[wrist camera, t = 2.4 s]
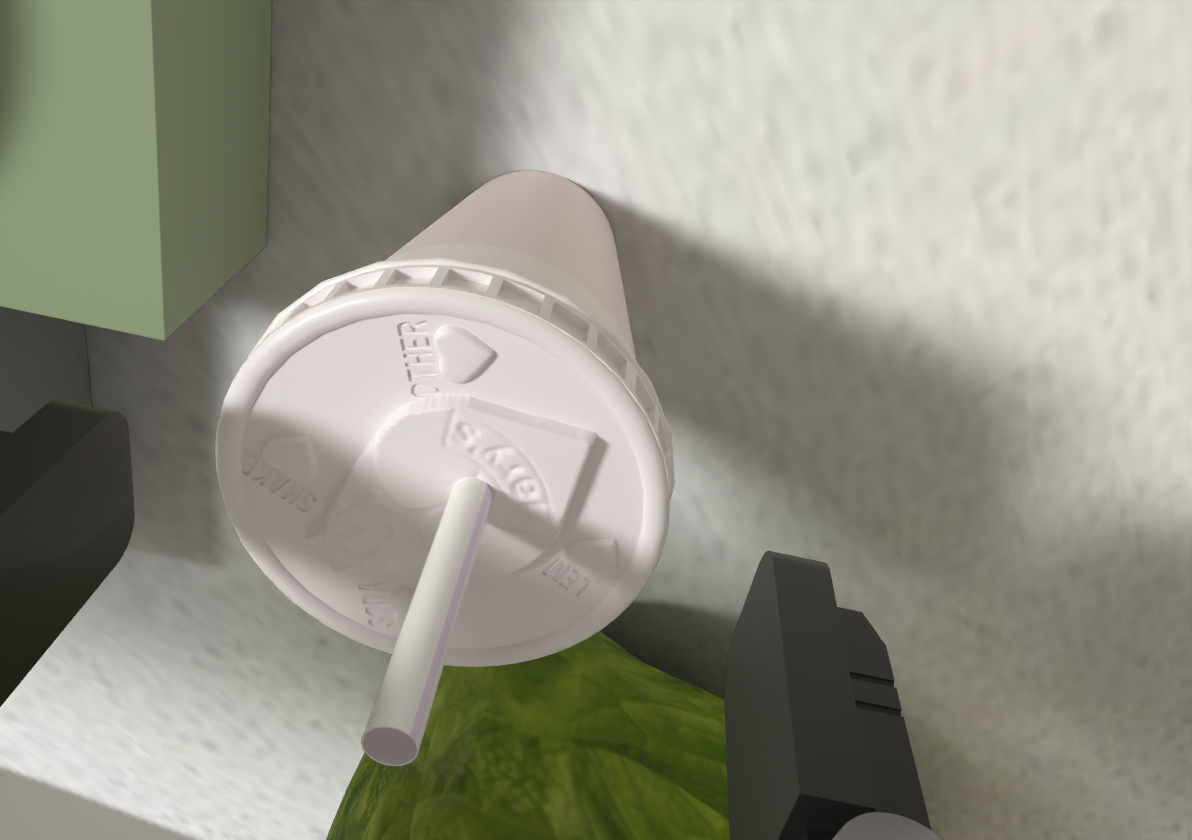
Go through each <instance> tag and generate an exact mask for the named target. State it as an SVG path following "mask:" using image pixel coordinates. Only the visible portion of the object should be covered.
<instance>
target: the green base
mask: <svg viewBox="0 0 1192 840" xmlns="http://www.w3.org/2000/svg"><path fill="white" fill-rule="evenodd" d="M271 14H272V0H0V430H1V431H6V432H11V433H13V432H14V431H15V430H16V429H17V428H19V427H20V426H21V425H22V424H23V423H25V422H26V421H27V420H28V419H29V418H30V417H32V416H33V415H34V414H35V413H36V412H38V411H39V410H40V409H41V408H42V407H43V406H45V405H46V404H48V403H49V402H51V401H54V400H61V401H66V402H71V403H76V404H80V405H85V406H90V407H92V403H91V392H90V380H89V369H88V357H87V346H86V335H85V324H88V325H92V326H97V327H102V328H106V329H111V330H116V331H121V332H125V333H130V334H135V335H140V336H144V337H149V338H154V339H159V340H163V341H165V340H166V339H167V338H168V337H169V336H170V335H171V334H172V333H173V332H174V331H175V330H177V329H178V328H179V327H180V326H181V325H182V324H183V323H184V322H185V321H186V320H187V319H188V318H189V317H191V316H192V315H193V314H194V313H195V312H196V311H197V310H198V309H199V308H200V307H201V306H202V305H203V304H204V303H206V302H207V301H208V300H209V299H210V298H211V297H212V296H213V295H214V294H215V293H216V292H217V291H218V290H220V289H221V288H222V287H223V286H224V285H225V284H226V283H227V282H228V281H229V280H230V279H231V278H232V277H233V276H235V275H236V274H237V273H238V272H239V271H240V270H241V269H242V268H243V267H244V266H245V265H246V264H247V263H248V262H250V261H251V260H252V259H253V258H254V257H255V256H256V255H257V254H258V253H259V252H260V251H261V250H262V249H264V248H265V247H266V246H267V204H268V157H269V109H270V62H271Z"/></svg>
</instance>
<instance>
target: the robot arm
mask: <svg viewBox="0 0 1192 840" xmlns="http://www.w3.org/2000/svg"><path fill="white" fill-rule="evenodd" d="M133 525H134V498H133V485H132V471H131V458H130V444H129V431H128V425H127V422H126V419H125V417H124V416H123V415H122V414H120V413H118V412H114V411H109V410H104V409H99V408H95V407H90V406H85V405H80V404H76V403H71V402H66V401H61V400H54V401H51V402H49V403H48V404H46V405H45V406H43V407H42V408H41V409H40V410H39V411H38V412H36V413H35V414H34V415H33V416H32V417H30V418H29V419H28V420H27V421H26V422H25V423H23V424H22V425H21V426H20V427H19V428H17V429H16V430H15V431H14V432H13V433H11V432H6V431H1V430H0V707H1V706H2V704H3V703H4V702H5V701H6V699H7V698H8V697H9V696H10V694H11V693H12V692H13V691H14V690H15V688H16V687H17V686H18V685H19V683H20V682H21V681H22V680H23V679H24V677H25V676H26V675H27V674H28V672H29V671H30V670H31V669H32V668H33V666H34V665H35V664H36V663H37V661H38V660H39V659H40V658H41V657H42V655H43V654H44V653H45V652H46V650H47V649H48V648H49V647H50V645H51V644H52V643H53V642H54V641H55V639H56V638H57V637H58V636H59V634H60V633H61V632H62V631H63V630H64V628H65V627H66V626H67V625H68V623H69V622H70V621H71V620H72V619H73V617H74V616H75V615H76V614H77V612H78V611H79V610H80V609H81V608H82V606H83V605H84V604H85V603H86V601H87V600H88V599H89V598H90V596H91V595H92V594H93V593H94V592H95V590H96V589H97V588H98V587H99V585H100V584H101V583H102V582H103V581H104V579H105V578H106V577H107V576H108V574H109V573H110V572H111V571H112V570H113V568H114V567H115V566H116V565H117V563H118V562H119V561H120V559H121V557H122V556H123V554H124V552H125V550H126V548H127V546H128V543H129V540H130V537H131V534H132V530H133ZM724 707H725V734H726V760H727V787H728V813H729V839H730V840H943V839H942V838H941V837H940V836H938V835H937V834H936V833H934V832H933V831H932V830H931V827H930V823H929V819H928V815H927V811H926V807H925V803H924V799H923V795H922V791H921V787H920V783H919V778H918V774H917V770H916V766H915V762H914V758H913V754H912V750H911V746H910V742H909V738H908V734H907V730H906V726H905V722H904V717H901V710H902V709H901V705H900V701H899V697H898V693H897V689H896V688H895V687H894V677H893V673H892V669H891V665H890V661H889V656H888V652H887V648H886V645H885V644H884V643H883V641H882V640H881V638H880V637H879V636H878V634H877V633H876V631H875V630H874V629H873V627H872V626H871V624H870V623H869V621H868V620H867V619H866V617H865V616H864V614H863V613H862V612H858V611H854V610H849V609H844V608H839V607H837V605H836V600H835V595H834V589H833V584H832V579H831V574H830V570H829V567H828V565H827V564H826V563H824V562H819V561H815V560H810V559H805V558H800V557H796V556H791V555H786V554H781V553H777V552H772V551H767V552H766V553H765V554H764V555H763V557H762V559H761V561H760V563H759V566H758V568H757V571H756V574H755V577H754V579H753V582H752V585H751V588H750V590H749V593H748V596H747V599H746V601H745V604H744V607H743V609H742V612H741V615H740V618H739V620H738V623H737V626H736V629H735V631H734V634H733V637H732V640H731V643H730V647H729V651H728V656H727V661H726V667H725V676H724Z"/></svg>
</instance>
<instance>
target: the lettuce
mask: <svg viewBox="0 0 1192 840" xmlns="http://www.w3.org/2000/svg"><path fill="white" fill-rule="evenodd" d="M326 840H730V839H729V813H728V787H727V760H726V734H725V707H724V699H722V698H720V697H718V696H716V695H714V694H712V693H710V692H708V691H706V690H703V689H701V688H699V687H697V686H695V685H693V684H691V683H689V682H687V681H684V680H682V679H679V678H677V677H674V676H672V675H669V674H667V673H665V672H663V671H661V670H658V669H656V668H654V667H652V666H650V665H648V664H646V663H644V662H642V661H641V660H639V659H638V658H637V657H635V656H634V655H632V654H631V653H630V652H628V651H627V650H625V649H624V648H623V647H621V646H620V645H618V644H617V643H616V642H614V641H613V640H611V639H610V638H609V637H607V636H606V635H604V634H603V633H602V632H600V631H598V632H597V633H595V634H594V635H592V636H590V637H589V638H587V639H585V640H583V641H581V642H579V643H577V644H575V645H573V646H571V647H569V648H567V649H564V650H562V651H559V652H557V653H554V654H551V655H548V656H544V657H541V658H538V659H534V660H529V661H525V662H520V663H515V664H507V665H499V666H484V667H464V666H448V665H444V667H443V670H442V674H441V677H440V680H439V684H438V687H437V691H436V694H435V697H434V701H433V704H432V708H431V711H430V715H429V718H428V721H427V725H426V728H425V732H424V735H423V738H422V742H421V745H420V749H419V752H418V755H417V757H416V758H415V759H414V760H413V761H412V762H411V763H408V764H406V765H402V766H389V765H384V764H381V763H379V762H377V761H374V760H373V759H372V758H370V757H369V756H368V755H367V754H366V753H364V755H363V757H362V759H361V761H360V763H359V765H358V767H357V769H356V771H355V773H354V775H353V777H352V779H351V782H350V784H349V786H348V788H347V790H346V792H345V795H344V797H343V799H342V802H341V804H340V806H339V809H338V811H337V814H336V816H335V818H334V821H333V823H332V825H331V828H330V830H329V833H328V836H327V839H326Z"/></svg>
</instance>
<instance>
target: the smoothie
mask: <svg viewBox="0 0 1192 840" xmlns="http://www.w3.org/2000/svg"><path fill="white" fill-rule="evenodd" d="M215 458H216V472H217V477H218V483H219V488H220V492H221V495H222V499H223V502H224V505H225V508H226V511H227V513H228V516H229V518H230V520H231V523H232V525H233V527H234V529H235V531H236V533H237V535H238V536H239V538H240V540H241V542H242V544H243V545H244V547H245V548H246V550H247V551H248V553H249V554H250V556H251V557H252V559H253V560H254V561H255V562H256V564H257V565H258V566H259V568H260V569H261V570H262V571H263V573H264V574H265V575H266V576H267V577H268V578H269V579H270V580H271V581H272V582H273V583H274V584H275V586H276V587H277V588H278V589H279V590H281V591H282V592H283V593H284V594H285V595H286V596H287V597H288V598H289V599H290V600H291V601H292V602H293V603H295V604H296V605H298V606H299V607H300V608H302V609H303V610H304V611H306V612H307V613H308V614H310V615H311V616H313V617H314V618H316V619H317V620H319V621H320V622H321V623H323V624H324V625H326V626H327V627H329V628H331V629H333V630H335V631H337V632H339V633H341V634H342V635H344V636H347V637H349V638H351V639H353V640H355V641H356V642H358V643H360V644H363V645H366V646H369V647H371V648H374V649H377V650H379V651H382V652H386V653H389V654H391V655H392V657H391V659H390V662H389V665H388V668H387V671H386V673H385V676H384V679H383V682H382V684H381V687H380V690H379V693H378V695H377V698H376V701H375V704H374V706H373V709H372V712H371V715H370V717H369V720H368V723H367V726H366V728H365V731H364V734H363V737H362V741H361V744H362V748H363V750H364V751H365V753H366V754H367V755H368V756H369V757H370V758H372V759H373V760H374V761H377V762H379V763H381V764H384V765H389V766H402V765H406V764H408V763H411V762H412V761H413V760H414V759H415V758H416V757H417V755H418V752H419V749H420V745H421V742H422V738H423V735H424V732H425V728H426V725H427V721H428V718H429V715H430V711H431V708H432V704H433V701H434V697H435V694H436V691H437V687H438V684H439V680H440V677H441V674H442V670H443V667H444V665H448V666H464V667H484V666H499V665H507V664H515V663H520V662H525V661H529V660H534V659H538V658H541V657H544V656H548V655H551V654H554V653H557V652H559V651H562V650H564V649H567V648H569V647H571V646H573V645H575V644H577V643H579V642H581V641H583V640H585V639H587V638H589V637H590V636H592V635H594V634H595V633H597V632H598V631H600V630H601V629H603V628H604V627H605V626H607V625H608V624H609V623H611V622H612V621H613V620H614V619H616V618H617V617H618V616H619V615H620V614H621V613H622V612H623V611H624V610H625V609H626V608H627V607H628V606H629V605H630V604H631V603H632V602H633V601H634V599H635V598H636V597H637V596H638V595H639V593H640V592H641V591H642V589H643V588H644V586H645V585H646V583H647V582H648V580H649V579H650V577H651V575H652V573H653V571H654V569H655V567H656V565H657V563H658V561H659V558H660V555H661V553H662V550H663V547H664V544H665V539H666V535H667V531H668V525H669V516H670V500H671V496H672V492H673V488H674V484H675V478H674V463H673V449H672V434H671V430H670V428H669V425H668V423H667V420H666V417H665V415H664V412H663V410H662V407H661V404H660V402H659V399H658V397H657V394H656V392H655V389H654V386H653V384H652V381H651V380H650V379H649V377H648V376H647V375H646V374H645V372H644V371H643V370H642V368H641V367H640V366H639V364H638V363H637V361H636V355H635V350H634V344H633V339H632V333H631V328H630V322H629V317H628V311H627V305H626V300H625V294H624V289H623V283H622V278H621V272H620V267H619V261H618V256H617V250H616V245H615V239H614V235H613V231H612V229H611V226H610V223H609V221H608V219H607V217H606V215H605V214H604V212H603V210H602V209H601V207H600V206H599V205H598V203H597V202H596V201H595V200H594V199H593V198H592V197H591V196H590V195H589V194H588V193H587V192H586V191H585V190H583V189H582V188H581V187H579V186H578V185H576V184H575V183H573V182H571V181H569V180H567V179H565V178H563V177H560V176H558V175H555V174H551V173H547V172H541V171H518V172H512V173H507V174H504V175H501V176H498V177H496V178H494V179H492V180H490V181H488V182H487V183H485V184H484V185H482V186H481V187H480V188H478V189H477V190H476V191H474V192H473V193H472V194H470V195H469V196H468V197H467V198H465V199H464V200H463V201H461V202H460V203H459V204H457V205H456V206H455V207H454V208H452V209H451V210H450V211H448V212H447V213H446V214H445V215H443V216H442V217H441V218H439V219H438V220H437V221H435V222H434V223H433V224H432V225H430V226H429V227H428V228H426V229H425V230H424V231H422V232H421V233H420V234H419V235H417V236H416V237H415V238H413V239H412V240H411V241H409V242H408V243H407V244H406V245H404V246H403V247H402V248H400V249H399V250H398V251H397V252H395V253H394V254H393V255H391V256H390V257H389V258H387V259H386V260H385V261H379V262H376V263H373V264H370V265H367V266H364V267H362V268H359V269H356V270H353V271H350V272H347V273H344V274H342V275H339V276H336V277H333V278H330V279H327V280H324V281H322V282H321V283H319V284H318V285H317V286H315V287H314V288H313V289H311V290H310V291H309V292H307V293H306V294H304V295H303V296H302V297H300V298H299V299H298V300H296V301H295V302H294V303H292V304H291V305H289V306H288V307H287V308H285V309H284V310H283V311H281V312H280V313H279V314H277V316H276V317H275V319H274V320H273V322H272V323H271V324H270V326H269V327H268V329H267V330H266V331H265V333H264V334H263V336H262V337H261V339H260V340H259V341H258V343H257V344H256V346H255V347H254V349H253V350H252V351H251V353H250V354H249V356H248V358H247V360H246V361H245V362H244V363H243V365H242V366H241V368H240V369H239V371H238V373H237V374H236V376H235V378H234V379H233V381H232V383H231V385H230V387H229V390H228V392H227V394H226V396H225V399H224V402H223V405H222V408H221V412H220V415H219V420H218V426H217V432H216V445H215Z"/></svg>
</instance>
